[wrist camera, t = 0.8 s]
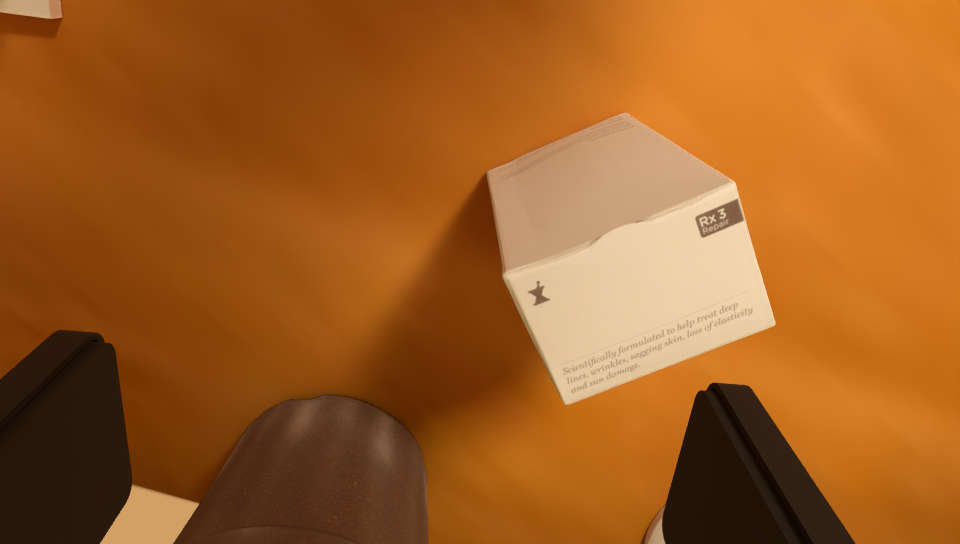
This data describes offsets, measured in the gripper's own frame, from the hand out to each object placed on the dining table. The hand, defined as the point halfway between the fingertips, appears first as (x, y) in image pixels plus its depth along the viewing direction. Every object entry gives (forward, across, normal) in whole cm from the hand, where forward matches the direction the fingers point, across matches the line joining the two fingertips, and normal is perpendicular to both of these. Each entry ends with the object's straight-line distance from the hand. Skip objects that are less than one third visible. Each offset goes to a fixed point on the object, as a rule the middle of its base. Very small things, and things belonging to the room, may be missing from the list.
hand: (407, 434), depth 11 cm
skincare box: (+26, -7, +3) cm, 27 cm away
